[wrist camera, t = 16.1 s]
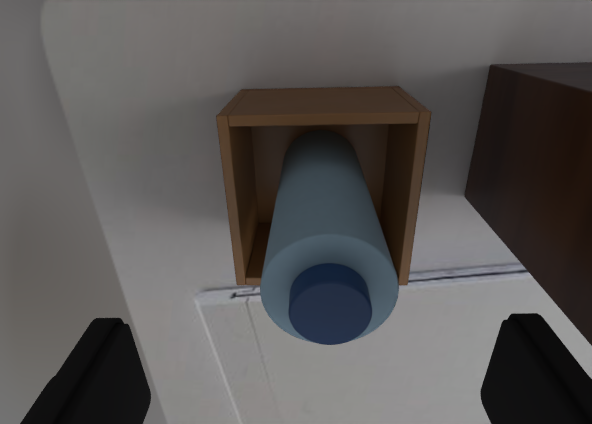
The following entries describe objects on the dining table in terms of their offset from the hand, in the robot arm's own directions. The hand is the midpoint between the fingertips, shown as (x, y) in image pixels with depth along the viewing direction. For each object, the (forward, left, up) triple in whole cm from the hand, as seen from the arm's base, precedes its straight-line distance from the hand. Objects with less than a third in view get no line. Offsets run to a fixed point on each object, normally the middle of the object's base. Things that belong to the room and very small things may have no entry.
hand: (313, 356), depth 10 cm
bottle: (+1, 0, -15) cm, 15 cm away
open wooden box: (+1, 0, -16) cm, 16 cm away
